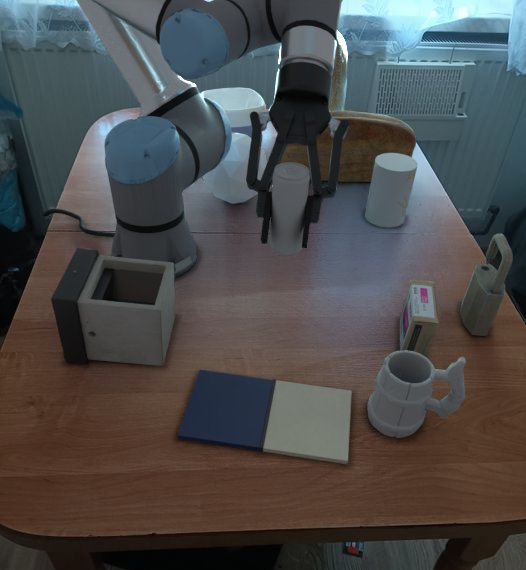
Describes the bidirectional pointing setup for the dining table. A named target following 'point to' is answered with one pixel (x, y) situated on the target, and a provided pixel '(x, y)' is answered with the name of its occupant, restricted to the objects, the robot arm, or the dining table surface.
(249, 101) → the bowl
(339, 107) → the vase
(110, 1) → the robot arm
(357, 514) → the dining table surface
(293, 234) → the beverage can
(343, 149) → the bread
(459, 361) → the mug
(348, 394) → the board
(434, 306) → the ink box
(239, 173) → the geodesic sphere
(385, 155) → the white cylinder
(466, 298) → the padlock
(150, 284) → the grey open box
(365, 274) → the dining table surface
